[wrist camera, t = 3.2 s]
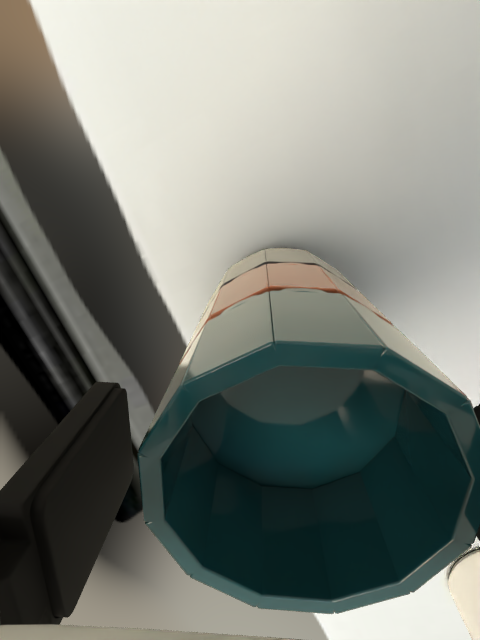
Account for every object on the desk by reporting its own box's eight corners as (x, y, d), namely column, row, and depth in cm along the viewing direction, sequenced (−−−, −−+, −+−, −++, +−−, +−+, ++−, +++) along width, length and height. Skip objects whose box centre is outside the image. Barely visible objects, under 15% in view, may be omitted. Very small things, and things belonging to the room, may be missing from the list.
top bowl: (185, 270, 11) (124, 334, 6) (412, 279, 11) (544, 353, 6) (191, 450, 14) (150, 601, 9) (375, 461, 13) (445, 624, 8)
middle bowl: (203, 252, 15) (174, 282, 10) (374, 258, 14) (436, 293, 9) (204, 397, 17) (182, 481, 12) (350, 405, 17) (389, 495, 12)
